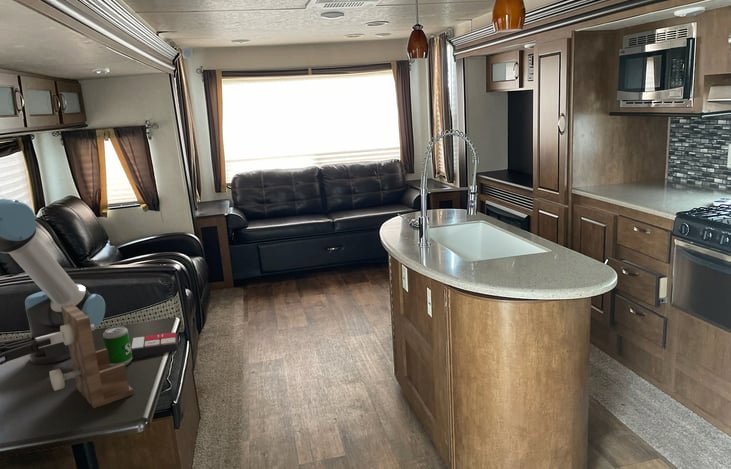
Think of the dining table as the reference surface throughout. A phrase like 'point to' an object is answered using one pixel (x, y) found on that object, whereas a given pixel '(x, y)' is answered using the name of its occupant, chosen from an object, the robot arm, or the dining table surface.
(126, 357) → the soda can
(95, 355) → the knob panel
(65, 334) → the upper knob
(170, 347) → the calculator
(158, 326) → the dining table surface
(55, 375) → the lower knob
